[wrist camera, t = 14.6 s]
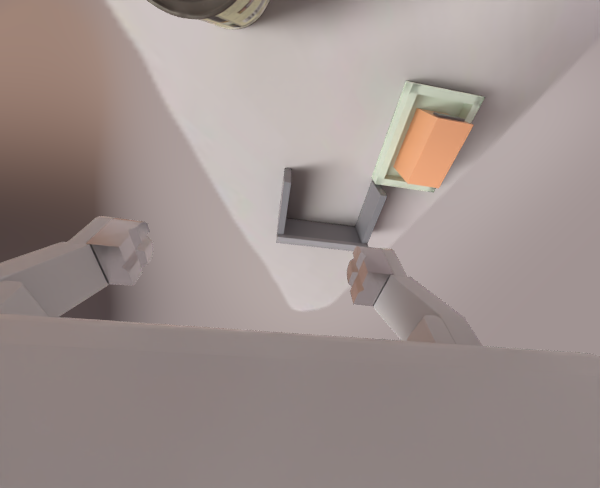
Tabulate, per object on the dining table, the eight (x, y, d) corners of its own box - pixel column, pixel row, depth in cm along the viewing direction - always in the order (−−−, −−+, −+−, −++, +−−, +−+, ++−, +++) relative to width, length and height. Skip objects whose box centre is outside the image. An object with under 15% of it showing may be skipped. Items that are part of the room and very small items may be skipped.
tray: (405, 80, 31) (413, 82, 29) (473, 94, 32) (485, 97, 30) (371, 177, 39) (375, 184, 37) (427, 185, 40) (433, 192, 38)
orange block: (417, 105, 32) (439, 115, 28) (449, 111, 33) (475, 122, 28) (393, 166, 37) (407, 183, 33) (420, 170, 38) (438, 188, 33)
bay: (284, 168, 38) (283, 184, 33) (377, 181, 40) (388, 198, 35) (277, 222, 44) (276, 242, 39) (358, 232, 46) (366, 252, 41)
